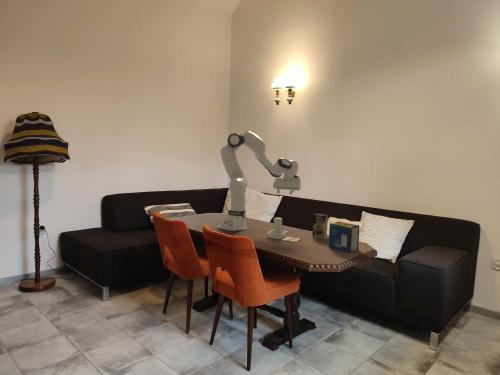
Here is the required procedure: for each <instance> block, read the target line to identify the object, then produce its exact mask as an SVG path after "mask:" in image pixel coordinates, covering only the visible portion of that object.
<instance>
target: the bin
mask: <svg viewBox="0 0 500 375" xmlns="http://www.w3.org/2000/svg"><path fill="white" fill-rule="evenodd" d="M273 231H274V228H273V229H271V230H270V231H268V232H266V238H269V239H277V240H282V239H284V238H285V237H289V236H288V232H289V231H288V230H282V234H278V233H273Z"/></svg>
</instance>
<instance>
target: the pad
mask: <svg viewBox="0 0 500 375" xmlns="http://www.w3.org/2000/svg"><path fill="white" fill-rule="evenodd" d="M300 240H301V238H299V237H292V236H287V237H285V238H284V239H281V241H282V242H286V243H295V244H297V243H298V242H300Z"/></svg>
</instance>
